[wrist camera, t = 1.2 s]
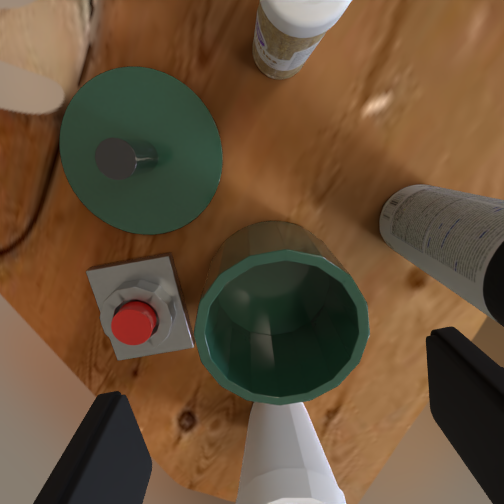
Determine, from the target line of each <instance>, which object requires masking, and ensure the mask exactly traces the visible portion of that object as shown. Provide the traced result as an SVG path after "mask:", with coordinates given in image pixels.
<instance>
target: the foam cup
mask: <svg viewBox="0 0 504 504" xmlns="http://www.w3.org/2000/svg"><path fill="white" fill-rule="evenodd" d="M235 504H346V501H345V497H344V494H343V492H342V491H341V489H340V488H339V487H338V485H337V483H336V480H335V478H334V475H333V473H332V470H331V468H330V466H329V463H328V461H327V458H326V456H325V454H324V451H323V449H322V446H321V444H320V442H319V439H318V437H317V434H316V432H315V429H314V427H313V425H312V422H311V420H310V417H309V415H308V413H307V410H306V408H305V407H304V404H303V402H299V403H293V404H287V405H281V406H279V405H272V404H266V403H259V402H254V403H253V406H252V409H251V412H250V417H249V423H248V430H247V436H246V443H245V450H244V456H243V463H242V469H241V476H240V483H239V489H238V496H237V500H236V503H235Z"/></svg>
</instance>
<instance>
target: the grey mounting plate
mask: <svg viewBox="0 0 504 504" xmlns="http://www.w3.org/2000/svg"><path fill="white" fill-rule="evenodd" d="M86 274H87V276H88V279H89V282H90V285H91V287H92V290H93V293H94V296H95V299H96V301H97V304H98V307H99V310H100V312H101V313H100V321H101V324H102V327H103V329H104V332H105V334H106V335H107V336H108V337H109V338H110V340H111V343H112V346H113V349H114V351H115V354H116V357H117V360H118V361H119V360H125V359H131V358H136V357H142V356H148V355H154V354H159V353H165V352H171V351H177V350H183V349H188V348H194V344H195V338H194V334H193V331H192V327H191V323H190V320H189V316H188V312H187V309H186V305H185V301H184V298H183V294H182V290H181V286H180V283H179V279H178V275H177V272H176V268H175V264H174V261H173V257H172V253H171V252H170V253H165V254H159V255H154V256H149V257H143V258H138V259H132V260H127V261H121V262H116V263H110V264H105V265H100V266H94V267H91V268H89V269H88V270H87V271H86ZM131 301H140V302H143V303H146V304H147V305H149V306H150V307H151V308H152V309H153V310H154V312H155V314H156V318H157V322H156V325H155V328H154V330H153V332H152V334H151V336H150V337H149V339H148V340H147V341H145V342H144V343H142V344H139V345H127V344H124V343H122V342H120V341H119V340H118V339H117V338H116V337H115V336H114V335H113V333H112V330H111V322H112V319H113V317H114V316H115V315H116V313H117V312H118V311H119V309H120V308H121V307H122V306H123V305H124V304H126V303H128V302H131Z"/></svg>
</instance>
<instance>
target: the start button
mask: <svg viewBox="0 0 504 504" xmlns="http://www.w3.org/2000/svg"><path fill="white" fill-rule="evenodd" d="M156 322H157V318H156V314H155V312H154V310H153V309H152V308H151V307H150V306H149V305H147V304H146V303H143V302H140V301H131V302H128V303H126V304H124V305H123V306H122V307H121V308H120V309H119V311H118V312H117V313H116V315H115V316H114V317H113V319H112V322H111V330H112V333H113V335H114V336H115V337H116V338H117V339H118V340H119V341H120V342H122V343H124V344H127V345H139V344H142V343H144V342H145V341H147V340H148V339H149V337H150V336H151V334H152V332H153V330H154V328H155V325H156Z"/></svg>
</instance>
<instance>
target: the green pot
mask: <svg viewBox="0 0 504 504" xmlns="http://www.w3.org/2000/svg"><path fill="white" fill-rule="evenodd" d="M369 335H370V328H369V317H368V306H367V302H366V300H365V298H364V297H363V295H362V293H361V292H360V290H359V288H358V287H357V285H356V283H355V282H354V280H353V278H352V277H351V275H350V274H349V273H348V272H347V271H346V269H345V268H344V267H343V266H342V264H341V263H340V262H339V261H338V260H337V258H336V257H335V256H334V255H333V253H332V252H331V251H330V250H329V249H328V247H327V246H326V245H325V244H324V242H323V241H322V240H320V239H319V238H318V237H316V236H315V235H314V234H312V233H311V232H310V231H308V230H306V229H304V228H303V227H301V226H298V225H295V224H292V223H288V222H281V221H266V222H260V223H256V224H252V225H250V226H247V227H245V228H243V229H241V230H239V231H237V232H236V233H235V234H233V235H232V236H230V237H229V238H228V239H227V240H226V241H225V242H224V243H223V245H222V246H221V247H220V248H219V250H218V251H217V253H216V255H215V257H214V258H213V259H212V262H211V264H210V268H209V271H208V274H207V278H206V281H205V285H204V288H203V291H202V295H201V298H200V302H199V306H198V311H197V317H196V322H195V328H194V337H195V341H196V345H197V348H198V352H199V356H200V359H201V362H202V364H203V365H204V366H205V367H206V369H207V370H208V371H209V372H210V374H211V375H212V376H213V377H214V378H215V380H216V381H217V382H218V383H219V384H220V385H221V386H222V387H223V388H225V389H227V390H229V391H231V392H233V393H234V394H236V395H238V396H240V397H242V398H244V399H245V400H248V401H253V402H259V403H266V404H272V405H279V406H281V405H287V404H293V403H299V402H305V401H310V400H313V399H315V398H316V397H318V396H320V395H322V394H324V393H326V392H328V391H330V390H332V389H333V388H335V387H337V386H338V385H340V384H341V382H342V381H343V380H344V379H345V378H346V377H347V376H348V375H349V374H350V372H351V371H352V370H353V369H354V368H355V367H356V366H357V365H358V364H359V362H360V360H361V357H362V354H363V352H364V349H365V346H366V343H367V341H368V338H369Z"/></svg>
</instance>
